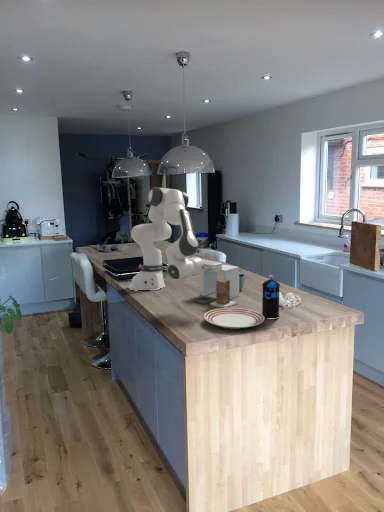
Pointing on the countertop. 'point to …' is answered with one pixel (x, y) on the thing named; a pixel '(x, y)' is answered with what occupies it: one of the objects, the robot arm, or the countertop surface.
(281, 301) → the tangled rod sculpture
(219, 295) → the walnut block
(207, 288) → the tunnel
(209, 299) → the trap pit
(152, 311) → the countertop surface
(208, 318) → the dinner plate
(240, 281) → the flower pot
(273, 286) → the aerosol can
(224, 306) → the tile
